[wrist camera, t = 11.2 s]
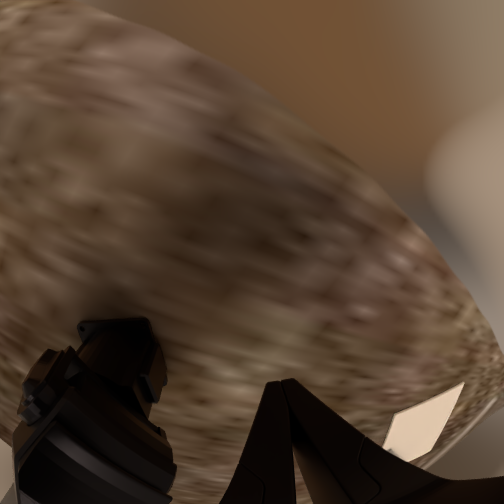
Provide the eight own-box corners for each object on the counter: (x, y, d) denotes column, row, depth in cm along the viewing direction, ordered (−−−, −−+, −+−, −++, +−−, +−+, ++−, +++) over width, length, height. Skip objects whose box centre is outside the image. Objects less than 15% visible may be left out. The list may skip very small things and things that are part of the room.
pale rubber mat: (369, 476, 30) (369, 477, 30) (394, 413, 26) (395, 415, 26) (429, 449, 31) (430, 450, 31) (463, 381, 27) (464, 382, 26)
